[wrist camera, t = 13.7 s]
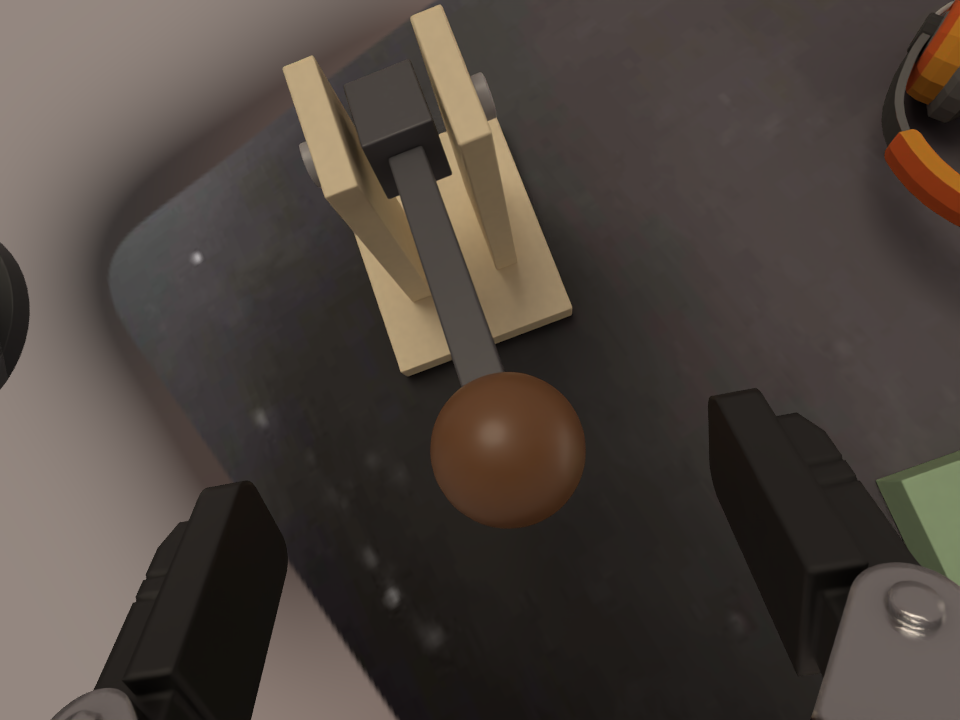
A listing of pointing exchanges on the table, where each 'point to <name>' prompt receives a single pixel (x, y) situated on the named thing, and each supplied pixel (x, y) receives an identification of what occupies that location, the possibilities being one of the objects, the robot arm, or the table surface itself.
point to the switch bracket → (466, 194)
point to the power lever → (467, 332)
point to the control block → (928, 512)
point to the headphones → (948, 94)
